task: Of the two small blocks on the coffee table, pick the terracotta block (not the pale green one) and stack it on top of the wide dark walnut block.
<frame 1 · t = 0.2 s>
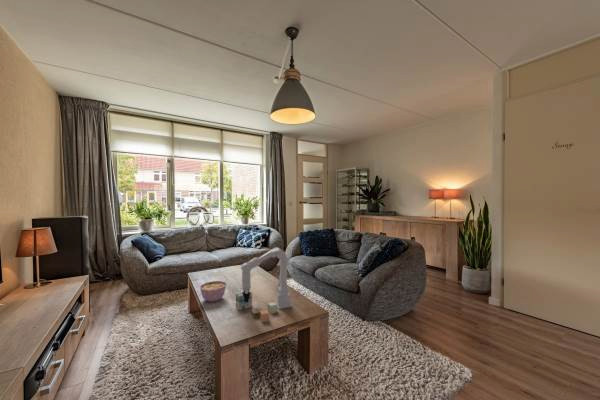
hand: (246, 299, 169), 10 cm above the table, fingers open, 7 cm apart
sage cube: (272, 311, 172), on the table
bowl of food: (213, 299, 193), on the table
light bulb box: (244, 307, 180), on the table
terracotta cube: (264, 320, 161), on the table
walnut base: (257, 315, 167), on the table
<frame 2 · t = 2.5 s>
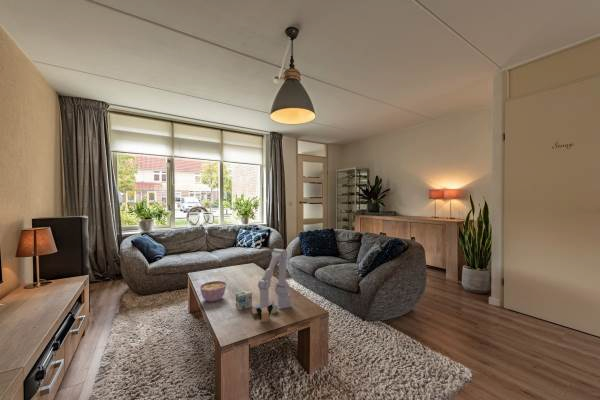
hand: (264, 317, 161), 1 cm above the table, fingers closed on terracotta cube, 6 cm apart
terracotta cube: (264, 319, 161), on the table, touching gripper
everything else where it was.
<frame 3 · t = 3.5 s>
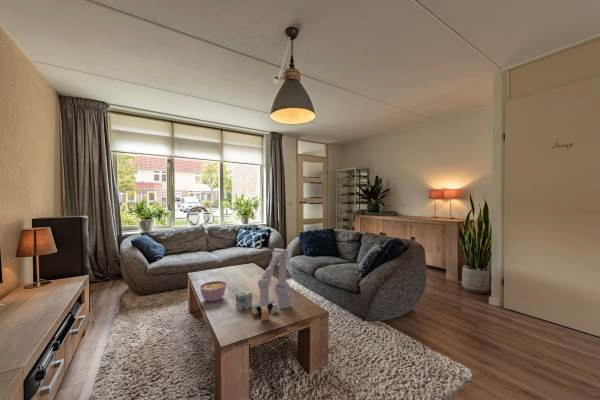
hand: (264, 316, 161), 2 cm above the table, fingers closed on terracotta cube, 6 cm apart
terracotta cube: (264, 318, 161), point 1 cm above the table, touching gripper
everything else where it was.
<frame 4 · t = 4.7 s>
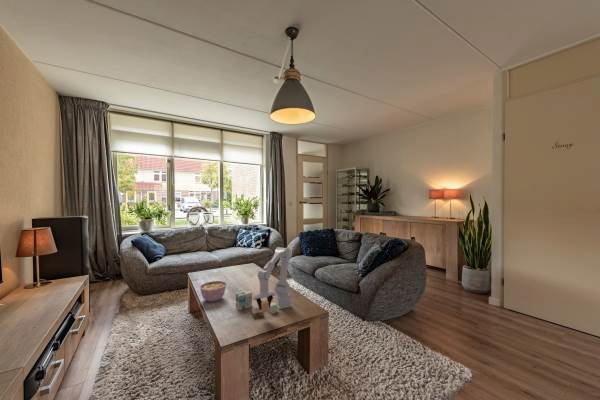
hand: (264, 308, 160), 8 cm above the table, fingers closed on terracotta cube, 6 cm apart
terracotta cube: (264, 310, 161), point 6 cm above the table, touching gripper
everything else where it was.
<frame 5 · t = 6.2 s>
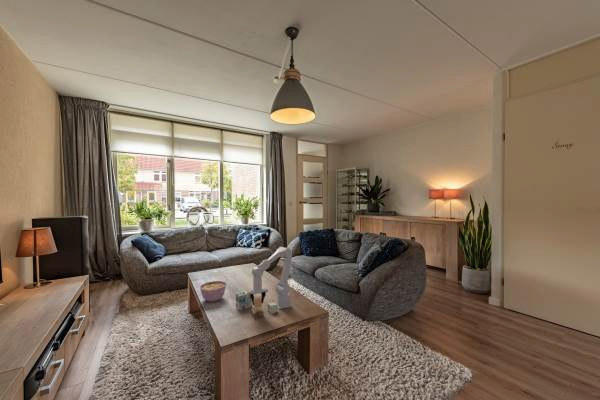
hand: (257, 303, 167), 8 cm above the table, fingers closed on terracotta cube, 6 cm apart
terracotta cube: (257, 305, 167), point 6 cm above the table, touching gripper
everything else where it was.
when the fingers open (6 cm above the table, at t = 7.3 s): terracotta cube drops 2 cm, resting on walnut base.
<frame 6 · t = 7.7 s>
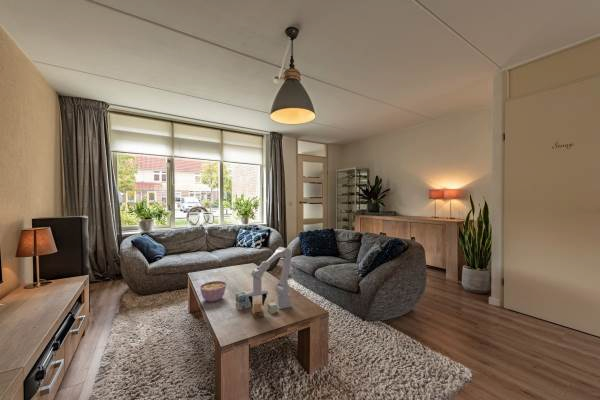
hand: (257, 305, 167), 6 cm above the table, fingers open, 7 cm apart
terracotta cube: (257, 310, 167), point 3 cm above the table, touching walnut base
walnut base: (257, 315, 167), on the table, touching terracotta cube
everything else where it was.
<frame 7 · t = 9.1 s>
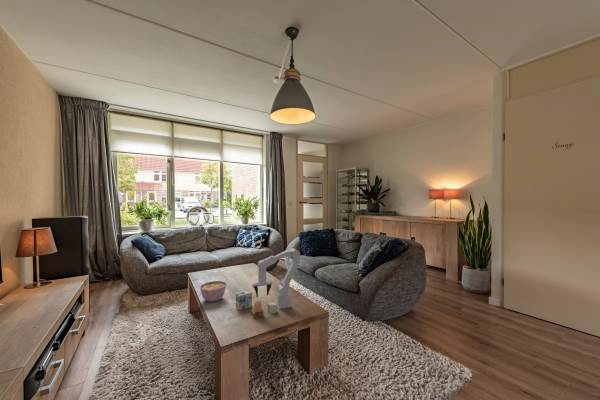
hand: (262, 295, 175), 10 cm above the table, fingers open, 7 cm apart
terracotta cube: (257, 310, 167), point 3 cm above the table
walnut base: (257, 315, 167), on the table
everything else where it was.
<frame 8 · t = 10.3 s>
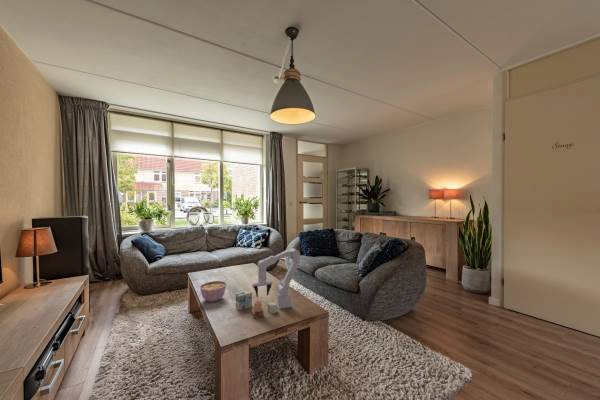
hand: (262, 295, 175), 10 cm above the table, fingers open, 7 cm apart
nothing on the table moved.
at the end: terracotta cube 0.4 cm off-centre on the walnut base, point 3.6 cm above the walnut base's base; terracotta cube tilted 1°; the gripper is holding nothing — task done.
